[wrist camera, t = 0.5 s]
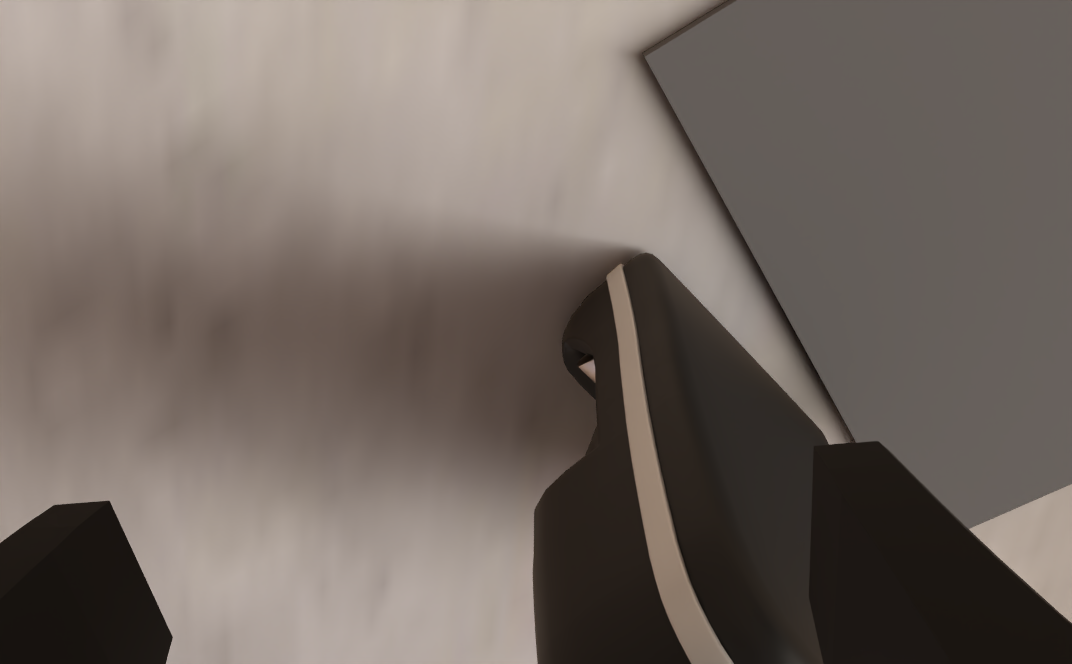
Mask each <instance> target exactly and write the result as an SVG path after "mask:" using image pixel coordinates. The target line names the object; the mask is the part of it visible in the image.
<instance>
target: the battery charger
mask: <svg viewBox="0 0 1072 664" xmlns="http://www.w3.org/2000/svg"><path fill="white" fill-rule="evenodd" d="M606 279H607V281H605V282H604V283H603V284H602V285H601V286H600V287H598V288H597V289H596V290H595V291H594V292H592V293H591V294H590V295H589V296H588V297H587V298H586V299H585V300H584V302H583V303H582V304H581V306H580V307H579V308H578V309H577V311H576V312H575V313H574V314H573V315H572V317H571V319H570V321H569V323H568V325H567V327H566V329H565V332H564V335H563V340H562V353H563V359H564V363H565V365H566V367H567V369H568V371H569V372H570V373H571V374H572V375H573V377H574V378H575V379H576V380H577V381H578V383H579V384H580V385H581V386H582V387H583V388H584V389H585V390H586V391H587V392H588V393H589V394H590V395H591V396H593V397H594V398H595V399H596V411H597V426H596V429H595V431H594V434H593V437H592V440H591V442H590V445H589V447H588V450H587V452H586V455H585V457H583V458H582V459H581V460H579V461H578V462H577V463H575V464H574V465H573V466H572V467H570V468H569V469H568V470H566V471H565V472H564V473H563V474H562V475H561V476H560V477H559V478H558V479H557V480H556V481H555V482H554V483H553V484H551V485H550V486H549V487H548V488H547V489H546V490H545V492H544V494H543V495H542V497H541V499H540V501H539V503H538V504H537V506H536V508H535V512H534V560H533V594H534V615H535V633H536V648H537V660H538V664H824V663H823V659H822V655H821V651H820V646H819V641H818V637H817V632H816V628H815V623H814V619H813V614H812V610H811V605H810V600H809V574H810V544H811V513H812V483H813V452H814V446H820V445H829V444H828V442H827V440H826V438H825V436H824V434H823V433H822V431H821V430H820V429H819V428H818V427H817V426H816V425H815V423H814V422H813V421H812V420H811V419H810V418H809V417H808V416H807V415H806V414H805V413H804V412H803V411H802V409H801V408H800V407H799V406H798V405H797V404H796V403H795V402H794V401H793V400H792V399H791V398H790V397H789V396H788V395H787V393H786V392H785V391H784V390H783V389H782V388H781V387H780V386H779V385H778V384H777V383H776V382H775V381H774V380H773V379H772V378H771V376H770V375H769V374H768V373H767V372H766V371H765V370H764V369H763V368H762V367H761V366H760V365H759V364H758V363H757V362H756V361H755V359H754V358H753V357H752V356H751V355H750V354H749V353H748V352H747V351H746V350H745V349H744V348H743V347H742V346H741V345H740V344H739V343H738V341H737V340H736V339H735V338H734V337H733V336H732V335H731V334H730V333H729V332H728V331H727V330H726V329H725V328H724V327H723V326H722V325H721V324H720V323H719V322H718V320H717V319H716V318H715V317H714V316H713V315H712V314H711V313H710V312H709V311H708V310H707V309H706V308H705V307H704V306H703V305H702V304H701V303H700V302H699V300H698V299H697V298H696V297H695V296H694V295H693V294H692V293H691V292H690V291H689V290H688V289H687V288H686V287H685V286H684V285H683V284H682V283H681V282H680V281H679V280H678V279H677V278H676V277H675V275H674V274H673V273H672V272H671V271H670V270H669V269H668V268H667V267H666V266H665V265H664V264H663V263H662V262H661V261H660V260H659V259H658V258H656V257H655V256H654V255H653V254H649V253H643V254H639V255H638V256H636V257H635V258H633V259H632V260H631V261H629V262H628V263H627V264H626V265H623V264H619V265H618V266H617V267H616V268H615V269H613V270H612V271H611V272H610V273H609V274H607V277H606Z"/></svg>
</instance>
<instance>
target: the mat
mask: <svg viewBox="0 0 1072 664" xmlns="http://www.w3.org/2000/svg"><path fill="white" fill-rule="evenodd" d="M643 55H644V57H645V59H646V61H647V62H648V64H649V66H650V68H651V70H652V72H653V73H654V75H655V77H656V79H657V81H658V83H659V84H660V86H661V88H662V90H663V92H664V93H665V95H666V97H667V99H668V101H669V103H670V104H671V106H672V108H673V110H674V112H675V113H676V115H677V117H678V119H679V121H680V123H681V124H682V126H683V128H684V130H685V132H686V134H687V135H688V137H689V139H690V141H691V143H692V144H693V146H694V148H695V150H696V152H697V154H698V155H699V157H700V159H701V161H702V163H703V165H704V166H705V168H706V170H707V172H708V174H709V175H710V177H711V179H712V181H713V183H714V185H715V186H716V188H717V190H718V192H719V194H720V195H721V197H722V199H723V201H724V203H725V205H726V206H727V208H728V210H729V212H730V214H731V216H732V217H733V219H734V221H735V223H736V225H737V226H738V228H739V230H740V232H741V234H742V236H743V237H744V239H745V241H746V243H747V245H748V247H749V248H750V250H751V252H752V254H753V256H754V257H755V259H756V261H757V263H758V265H759V267H760V268H761V270H762V272H763V274H764V276H765V277H766V279H767V281H768V283H769V285H770V287H771V288H772V290H773V292H774V294H775V296H776V298H777V299H778V301H779V303H780V305H781V307H782V308H783V310H784V312H785V314H786V316H787V318H788V319H789V321H790V323H791V325H792V327H793V329H794V330H795V332H796V334H797V336H798V338H799V339H800V341H801V343H802V345H803V347H804V349H805V350H806V352H807V354H808V356H809V358H810V360H811V361H812V363H813V365H814V367H815V369H816V370H817V372H818V374H819V376H820V378H821V380H822V381H823V383H824V385H825V387H826V389H827V390H828V392H829V394H830V396H831V398H832V400H833V401H834V403H835V405H836V407H837V409H838V411H839V412H840V414H841V416H842V418H843V420H844V421H845V423H846V425H847V427H848V429H849V431H850V432H851V434H852V436H853V438H854V440H855V442H856V443H858V442H871V441H879V442H880V443H881V444H882V445H884V446H885V447H886V448H887V449H888V450H889V451H890V452H891V453H892V454H893V455H894V456H895V457H896V458H897V459H898V460H899V461H900V462H901V463H902V464H903V465H904V466H905V467H906V468H907V469H908V470H909V471H910V472H911V473H912V474H913V475H914V476H915V477H916V478H917V479H918V480H919V481H920V482H921V483H922V484H923V485H924V486H925V487H926V488H927V489H928V490H929V491H930V492H931V493H932V494H933V495H934V496H935V497H936V498H937V499H938V500H939V501H940V502H941V503H942V504H943V505H944V506H945V507H946V508H947V509H948V510H949V511H950V512H951V513H952V514H953V515H954V516H955V517H956V518H958V519H959V520H960V521H961V522H962V523H963V524H964V525H965V526H966V527H967V528H968V529H969V528H972V527H974V526H976V525H979V524H981V523H983V522H985V521H988V520H990V519H992V518H995V517H997V516H999V515H1002V514H1004V513H1006V512H1008V511H1011V510H1013V509H1015V508H1018V507H1020V506H1022V505H1024V504H1027V503H1029V502H1031V501H1034V500H1036V499H1038V498H1040V497H1043V496H1045V495H1047V494H1050V493H1052V492H1054V491H1057V490H1059V489H1061V488H1063V487H1066V486H1068V485H1070V484H1072V0H728V1H727V2H725V3H723V4H722V5H720V6H719V7H717V8H715V9H714V10H712V11H710V12H709V13H707V14H706V15H704V16H702V17H701V18H699V19H697V20H696V21H694V22H693V23H691V24H689V25H688V26H686V27H684V28H683V29H681V30H679V31H678V32H676V33H675V34H673V35H671V36H670V37H668V38H666V39H665V40H663V41H662V42H660V43H658V44H657V45H655V46H653V47H652V48H650V49H649V50H647V51H645V52H644V53H643Z"/></svg>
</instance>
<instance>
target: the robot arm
mask: <svg viewBox="0 0 1072 664" xmlns="http://www.w3.org/2000/svg"><path fill="white" fill-rule="evenodd" d="M809 600H810V605H811V610H812V614H813V619H814V623H815V628H816V632H817V637H818V641H819V646H820V651H821V655H822V659H823V663H824V664H1072V623H1071V622H1070V621H1068V620H1067V619H1066V618H1065V617H1064V616H1063V615H1061V614H1060V613H1059V612H1058V611H1057V610H1056V609H1055V608H1054V607H1052V606H1051V605H1050V604H1049V603H1048V602H1047V601H1046V600H1045V599H1044V598H1042V597H1041V596H1040V595H1039V594H1038V593H1037V592H1036V591H1035V590H1034V589H1033V588H1031V587H1030V586H1029V585H1028V584H1027V583H1026V582H1025V581H1024V580H1023V579H1021V578H1020V577H1019V576H1018V575H1017V574H1016V573H1015V572H1014V571H1013V570H1012V569H1010V568H1009V567H1008V566H1007V565H1006V564H1005V563H1004V562H1003V561H1002V560H1000V559H999V558H998V557H997V556H996V555H995V554H994V553H993V552H992V551H991V550H990V549H989V548H988V547H987V546H986V545H985V544H983V543H982V542H981V541H980V540H979V539H978V538H977V537H976V536H975V535H974V534H973V533H972V532H971V531H970V530H969V529H968V528H967V527H966V526H965V525H964V524H963V523H962V522H961V521H960V520H959V519H958V518H956V517H955V516H954V515H953V514H952V513H951V512H950V511H949V510H948V509H947V508H946V507H945V506H944V505H943V504H942V503H941V502H940V501H939V500H938V499H937V498H936V497H935V496H934V495H933V494H932V493H931V492H930V491H929V490H928V489H927V488H926V487H925V486H924V485H923V484H922V483H921V482H920V481H919V480H918V479H917V478H916V477H915V476H914V475H913V474H912V473H911V472H910V471H909V470H908V469H907V468H906V467H905V466H904V465H903V464H902V463H901V462H900V461H899V460H898V459H897V458H896V457H895V456H894V455H893V454H892V453H891V452H890V451H889V450H888V449H887V448H886V447H885V446H884V445H882V444H881V443H880V442H879V441H871V442H858V443H846V444H833V445H820V446H814V452H813V483H812V513H811V544H810V574H809ZM172 638H173V637H172V635H171V633H170V631H169V628H168V626H167V624H166V622H165V620H164V618H163V615H162V613H161V611H160V609H159V607H158V605H157V602H156V600H155V598H154V596H153V594H152V592H151V589H150V587H149V585H148V583H147V581H146V579H145V577H144V574H143V572H142V570H141V568H140V566H139V564H138V561H137V559H136V557H135V555H134V553H133V551H132V548H131V546H130V544H129V542H128V540H127V538H126V535H125V533H124V531H123V529H122V527H121V525H120V523H119V520H118V518H117V516H116V514H115V512H114V510H113V507H112V505H111V503H110V501H100V502H88V503H75V504H62V505H54V506H52V507H51V508H49V509H48V510H46V511H45V512H43V513H42V514H40V515H39V516H37V517H36V518H34V519H33V520H31V521H30V522H29V523H27V524H26V525H24V526H23V527H22V528H20V529H19V530H17V531H16V532H15V533H13V534H12V535H11V536H9V537H8V538H7V539H5V540H4V541H2V542H1V543H0V664H166V660H167V656H168V653H169V649H170V645H171V642H172Z"/></svg>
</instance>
